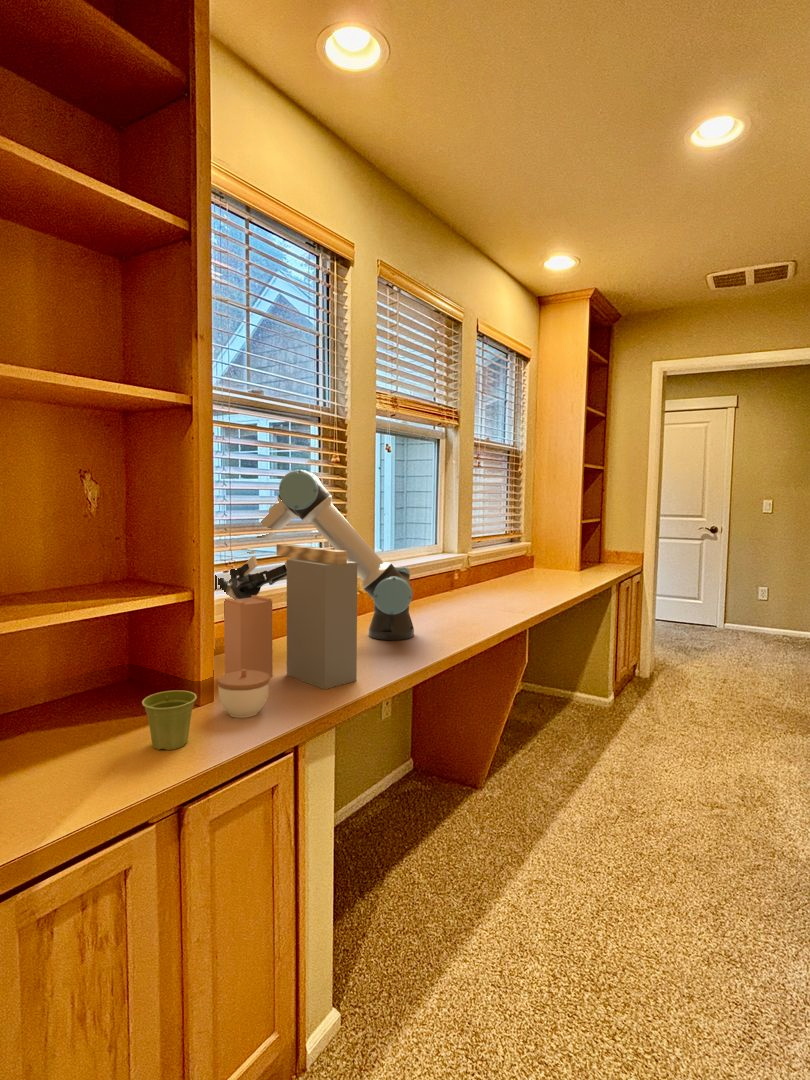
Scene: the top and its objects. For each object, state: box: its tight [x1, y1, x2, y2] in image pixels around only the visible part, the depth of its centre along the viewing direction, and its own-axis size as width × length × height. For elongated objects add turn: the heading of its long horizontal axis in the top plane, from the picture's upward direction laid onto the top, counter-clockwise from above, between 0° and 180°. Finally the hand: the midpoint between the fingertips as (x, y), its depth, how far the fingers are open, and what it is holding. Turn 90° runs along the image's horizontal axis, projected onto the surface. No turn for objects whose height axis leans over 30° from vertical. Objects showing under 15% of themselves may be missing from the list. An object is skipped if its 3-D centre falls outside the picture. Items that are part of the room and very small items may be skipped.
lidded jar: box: [217, 669, 271, 719], centre depth 127 cm, size 11×11×9 cm
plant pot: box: [141, 689, 198, 751], centre depth 111 cm, size 9×9×9 cm
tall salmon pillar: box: [223, 595, 274, 678], centre depth 152 cm, size 8×9×20 cm
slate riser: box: [286, 558, 358, 690], centre depth 151 cm, size 16×10×30 cm, turn 45°
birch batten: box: [276, 543, 347, 564], centre depth 153 cm, size 26×3×3 cm, turn 45°
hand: (277, 558), depth 163 cm, fingers open, 13 cm apart
